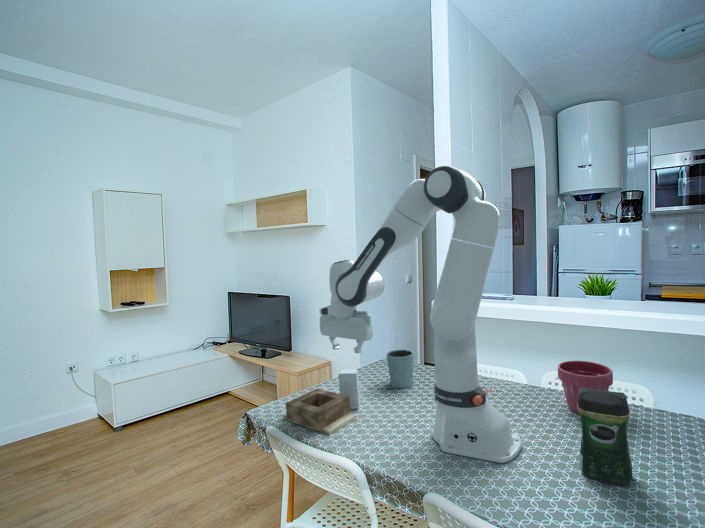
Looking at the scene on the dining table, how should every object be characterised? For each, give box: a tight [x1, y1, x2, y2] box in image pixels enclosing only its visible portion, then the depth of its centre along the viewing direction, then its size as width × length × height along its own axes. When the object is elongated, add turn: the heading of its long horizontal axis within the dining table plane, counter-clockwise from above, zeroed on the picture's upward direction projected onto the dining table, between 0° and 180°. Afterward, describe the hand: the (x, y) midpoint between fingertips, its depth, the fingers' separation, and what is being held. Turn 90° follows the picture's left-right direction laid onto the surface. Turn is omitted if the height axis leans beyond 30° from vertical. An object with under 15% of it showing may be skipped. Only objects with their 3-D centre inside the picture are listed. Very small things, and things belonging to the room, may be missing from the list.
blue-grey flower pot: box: [386, 349, 414, 389], centre depth 145 cm, size 10×10×12 cm
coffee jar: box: [577, 387, 633, 486], centre depth 83 cm, size 10×8×19 cm
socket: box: [282, 388, 357, 436], centre depth 120 cm, size 20×14×6 cm
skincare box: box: [337, 369, 361, 410], centre depth 127 cm, size 6×4×12 cm
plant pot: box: [557, 360, 614, 414], centre depth 115 cm, size 14×14×13 cm
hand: (346, 350), depth 126 cm, fingers open, 8 cm apart
